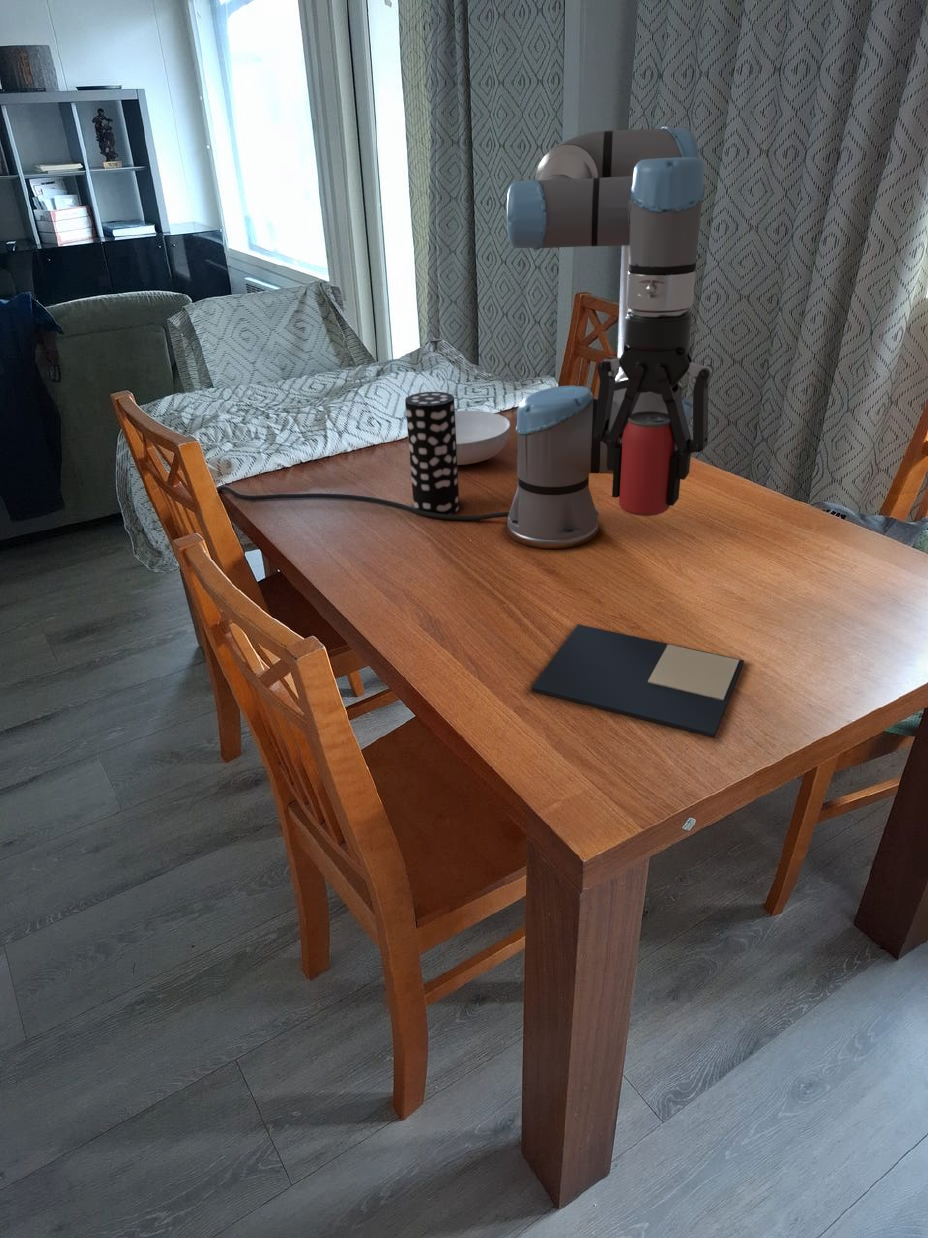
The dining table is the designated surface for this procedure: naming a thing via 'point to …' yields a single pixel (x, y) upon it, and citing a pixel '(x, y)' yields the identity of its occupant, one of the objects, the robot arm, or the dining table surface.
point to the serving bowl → (479, 435)
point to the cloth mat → (642, 679)
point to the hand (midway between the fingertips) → (645, 497)
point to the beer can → (646, 463)
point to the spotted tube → (433, 451)
